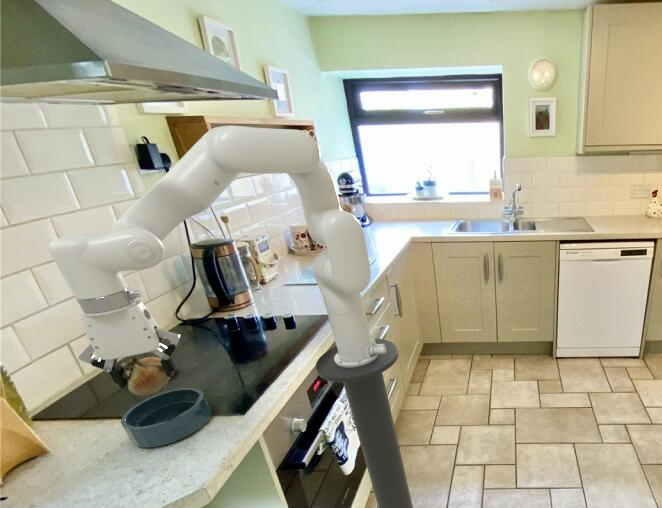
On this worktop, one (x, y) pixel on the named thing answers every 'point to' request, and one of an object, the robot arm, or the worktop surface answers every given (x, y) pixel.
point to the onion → (145, 377)
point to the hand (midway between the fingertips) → (148, 378)
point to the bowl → (166, 417)
